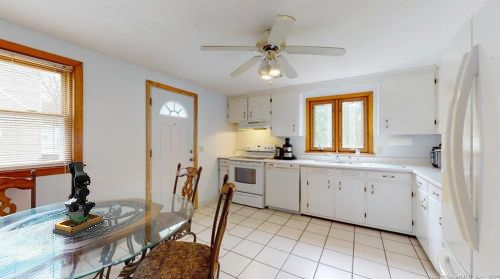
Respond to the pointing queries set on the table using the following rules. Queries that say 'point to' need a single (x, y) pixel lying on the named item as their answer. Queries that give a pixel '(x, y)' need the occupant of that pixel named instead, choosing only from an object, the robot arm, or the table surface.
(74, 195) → the robot arm
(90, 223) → the wooden tray
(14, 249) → the table surface
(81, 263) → the table surface
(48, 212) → the table surface
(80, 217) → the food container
